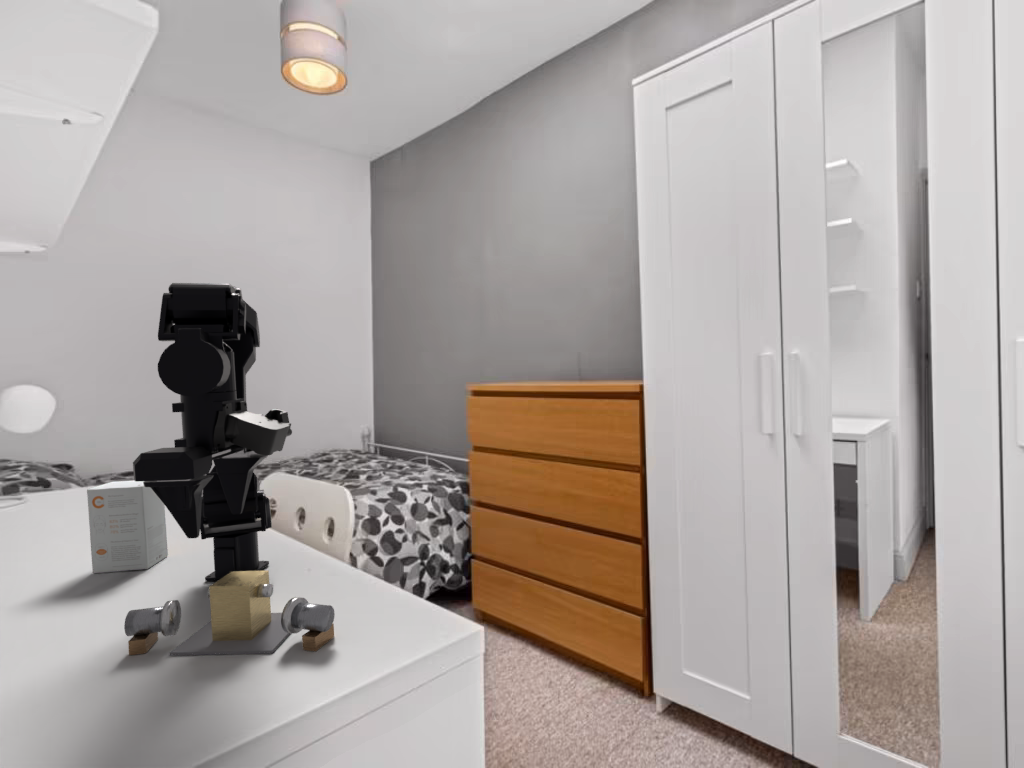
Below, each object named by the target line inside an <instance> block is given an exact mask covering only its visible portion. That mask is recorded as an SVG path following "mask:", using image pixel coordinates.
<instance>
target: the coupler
mask: <svg viewBox="0 0 1024 768" xmlns="http://www.w3.org/2000/svg"><path fill="white" fill-rule="evenodd" d="M273 593H274V585H273V584H272V583H270V572H269V570H261V571H231V572H230V573H229V574H227V575H226V576H224V577H223V578H221V579H220V580H217V581H214V583H212V584H210V585H209V586H208V589H207V598H208V599H209V601H210V603H209V604H210V620H211V623H212V640H213V641H228V640H253V639H254V638H255V637H256V636H257V635H258V634H259V633H260V632H261V631H262V630H263V629H264V628H265V627H266V626H267V625H268V624H269V623H270V622H271V613H272V609H271V597H272V595H273Z"/></svg>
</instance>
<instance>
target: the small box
mask: <svg viewBox="0 0 1024 768" xmlns="http://www.w3.org/2000/svg"><path fill="white" fill-rule="evenodd" d="M143 482H144V481H134V479H133V480H122V481H121V480H120V481H119V480H118V481H111V482H110V481H109V482H106V483H104V484H100V485H98V486H94V487H91V488H87V490H86V495H87V496H86V497H87V508H88V522H89V523H88V524H89V535H90V536H89V537H90V538H89V539H90V552H91V553H90V555H91V562H92V563H91V566H92V567H91V568H92V573H93V574H101V573H113V572H127V571H137V570H139V571H140V570H148V569H150V568H152V567H153V566H155V565H156V564H157V563H159V562H160V561H162V560H164V559H165V558H167V557H168V555H169V552H168V551H169V549H168V538H167V524H166V523H167V522H166V509H165V508H166V506H165V505H164V503H163V502H162V501H161V500H160V498H159V497H158V496H157V495H156V494H155V492H154V491H153V490H152V489H151V488H150V487H144V484H143Z"/></svg>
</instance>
